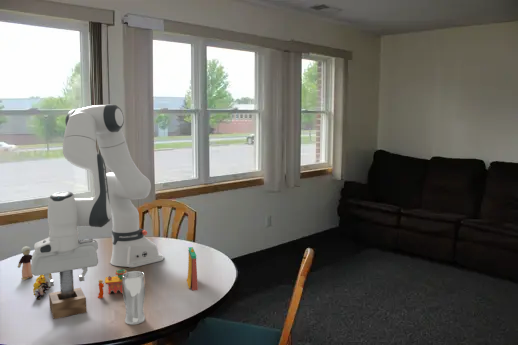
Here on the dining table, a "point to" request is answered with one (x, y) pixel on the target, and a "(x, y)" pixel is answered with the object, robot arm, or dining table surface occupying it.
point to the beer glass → (134, 296)
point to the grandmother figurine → (26, 263)
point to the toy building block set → (116, 281)
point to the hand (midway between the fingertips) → (66, 283)
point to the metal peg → (66, 284)
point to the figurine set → (41, 286)
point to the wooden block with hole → (67, 304)
